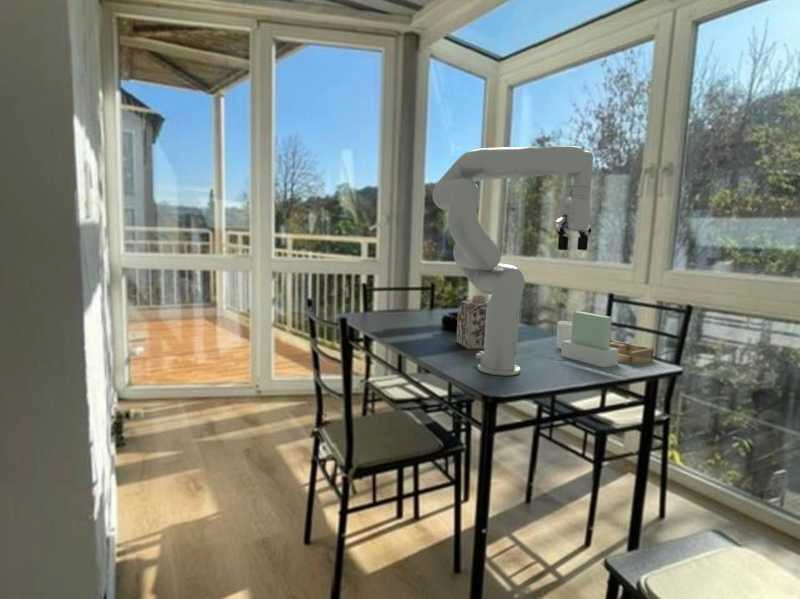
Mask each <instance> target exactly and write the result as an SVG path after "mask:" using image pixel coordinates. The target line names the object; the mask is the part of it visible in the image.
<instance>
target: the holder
mask: <svg viewBox="0 0 800 599" xmlns="http://www.w3.org/2000/svg"><path fill="white" fill-rule="evenodd" d="M618 352H619V349H617V348H612V347H609V350H601V349H597V348H593V347H588V346H584V345H580V344H576V343H571V340H566V341H562V349H561V354H560V355H561V357H563V358H567V359H571V360H574V361H579V362H582V363H585V364H586V363H587V364H590V365H594V366H598V367H601V368H608V367H613V366H618V363H619V362H618Z"/></svg>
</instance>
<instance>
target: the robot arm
mask: <svg viewBox="0 0 800 599" xmlns="http://www.w3.org/2000/svg"><path fill="white" fill-rule="evenodd" d="M593 165H594V154H593V152H591V151H588V150H584V149H583V148H581V147H580V146H575V145H566V146H565V145H560V146H540V147H539V146H525V147H522V146H521V147H488V148H487V147H486V148H479V149H475V150H474V149H473V150H470V151H469V150H468V151H466V152H465V153H463V154H462V155H461V156H459V158H457V160H456V161H455V162H454V163H453V164H452V165H451V167H450V168H449V169H448V170H447V171H446V172H445V173H444V175H443V176H442V177H441V178H440V179H439V180H437V183H435V186H434V187H433V191H432V200H433V202H434V204H435V206H437V208H439V209H440V210H443V211H448V213H447V214H448V217H447V226H448V232H449V234H450V235H451V238H452V239H453V241H454V242H455V244H454V245H453V250H452V254H453V255H452V256H453V259H454V262H455V264H456V265H457V267H458V268H459V270H460V271H461V272H462V273H463V274H464V276H465V277H466V278H467V279H468V281H469V282H470V283H471V284H472V285H473V286H474V288H476V290H478V291H480V292H482V293H485V294H488V295H491V296H490V298H489V300H488V301H489V302H488V305H487V309H486V323H485V340H484V349H483V350H479V351H478V353H476V354H475V358H477V359H480V362H479V363H477V370H478V371H480V372H481V373H485V374H488V375H494V376H503V377H505V376H515V375H518V374H520V373H521V367H520V366H519V365H517V364H516V361H517V346H518V336H519V334H518V332H519V318H520V307H521V300H522V296H523V293H524V289H525V284H526V282H525V277H524V274H523V272H522V270H520V269H519V268H518V267H516V266H514V265H512V264H507V263H506V264H505V263H500V262H501V259H502V254H501V251H500V248H499V247H498V246H497V244H496V242H495V241H494V240H493V239H492V238H491V236H490V235H489V233H488V232H487V230H485V228H484V227H483V226H482V224H481V223H480V220H479V218H478V212H477V211H478V205H479V200H480V188H479V186H478V184H477V183H476V181H484V180H485V181H486V180H487V181H488V180H508V179H511V180H512V179H526V178H533V177H539V176H545V175H549V176H561V175H565V179H564V194H563V195H564V196H563V197H562V199H561V202H560V207H559V211H558V212H559V213H558V219H557V220H555V222H554V224H555V230H556V233H557V234H556V235H557V237H558V242H557V250H560V251H568V248H569V236H568V235H569V234H570V232H573V231H575V232H576V231H577V233H578V235H579V236H578V238H577V247H576V248H577V250H578V251H587V250H588V246H589V245H588V243H589V237H590V234H591V233H592V229H593V226H594V223H593V222H592V220H591V191H592V190H591V189H592V188H591V187H592V178H593V177H592V176H593V167H594V166H593Z"/></svg>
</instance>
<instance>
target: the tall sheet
mask: <svg viewBox="0 0 800 599" xmlns="http://www.w3.org/2000/svg"><path fill="white" fill-rule="evenodd" d="M612 320H613V317H612V316H608V315H601V314H596V313H591V312H586V311H585V312H584V311H579V310H578V311H573V312H572V321H573V322H572V334H571V343H576V344H580V345H584V346H588V347H593V348H597V349H601V350H609V342H610V340H611V332H612V331H611V329H612V322H613V321H612Z"/></svg>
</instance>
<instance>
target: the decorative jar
mask: <svg viewBox="0 0 800 599" xmlns="http://www.w3.org/2000/svg"><path fill="white" fill-rule="evenodd" d="M488 302H489V300H487V296H486V295H481V294H477V295H476V294H475V295H473V296H472V299H465V300H463V301H461V302H460V304H459V305H458V306H457V307H458V309H457V324H456V325H457V326H456V343H457V344H460V345H461V346H462V347H464V348H466V349H467V350H480V349H481V350H484V340H485V323H486V309H487V305H488Z"/></svg>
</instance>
